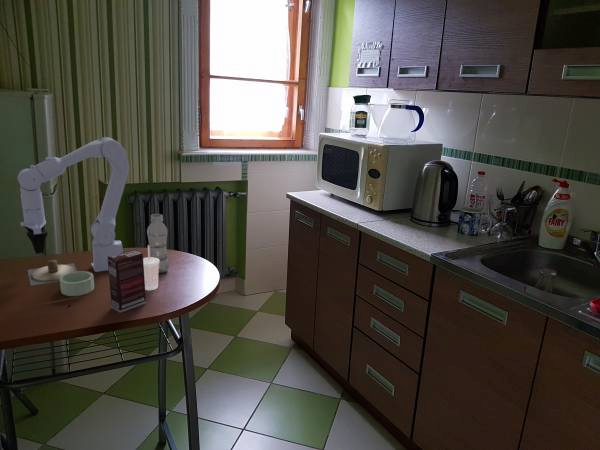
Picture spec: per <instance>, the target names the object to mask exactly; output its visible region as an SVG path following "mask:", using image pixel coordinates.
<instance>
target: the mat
mask: <svg viewBox="0 0 600 450" xmlns="http://www.w3.org/2000/svg"><path fill="white" fill-rule="evenodd" d="M64 265H68V266H71V267H73V269H74V272H76V271H78V269H77V268H76V264H75V263H74V262H73V263H72V262H71V263H66V264H64ZM37 269H39V268H31V269H27V275H28V279H29V285H30V287H33V286H38V285H44V284H45V285H46V284H52V283H57V282H60V280H55V281H39V280H35V279H34V278H33V276H32V273H33V272H34V271H35V270H37Z"/></svg>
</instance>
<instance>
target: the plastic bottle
mask: <svg viewBox="0 0 600 450" xmlns="http://www.w3.org/2000/svg"><path fill="white" fill-rule="evenodd" d="M163 221H164V217H163V214H160V213H154V214H151V215H150V224H149V225H148V226H147V230H146V235H147V238H148V245H149V249H150V257H155V258H158V259H159V260H160V261H159V270H158V274H162V273H166V272H168V270H169V268H170V262H169V258H168V251H167V239H168V228H167V227H166V225H165V223H163Z"/></svg>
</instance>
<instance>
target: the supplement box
mask: <svg viewBox="0 0 600 450" xmlns="http://www.w3.org/2000/svg"><path fill="white" fill-rule="evenodd" d="M107 258H108V270H107V271H108V279H109V290H110V291H109V293H110V300H111V301H110V304H111V309H112V310H114V311H116V312H117V313H119V314H121V313H124V312H126V311H129V310H132V309H134V308H137V307H139V306H143V305H146V304H147V298H146V297H147V294H146V290H145V278H144V264H143V258H144V254H143V252H141V251H139V250H137V249H132V250H128V251H123V253H119V254H115V255H112V256H108V257H107Z"/></svg>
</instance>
